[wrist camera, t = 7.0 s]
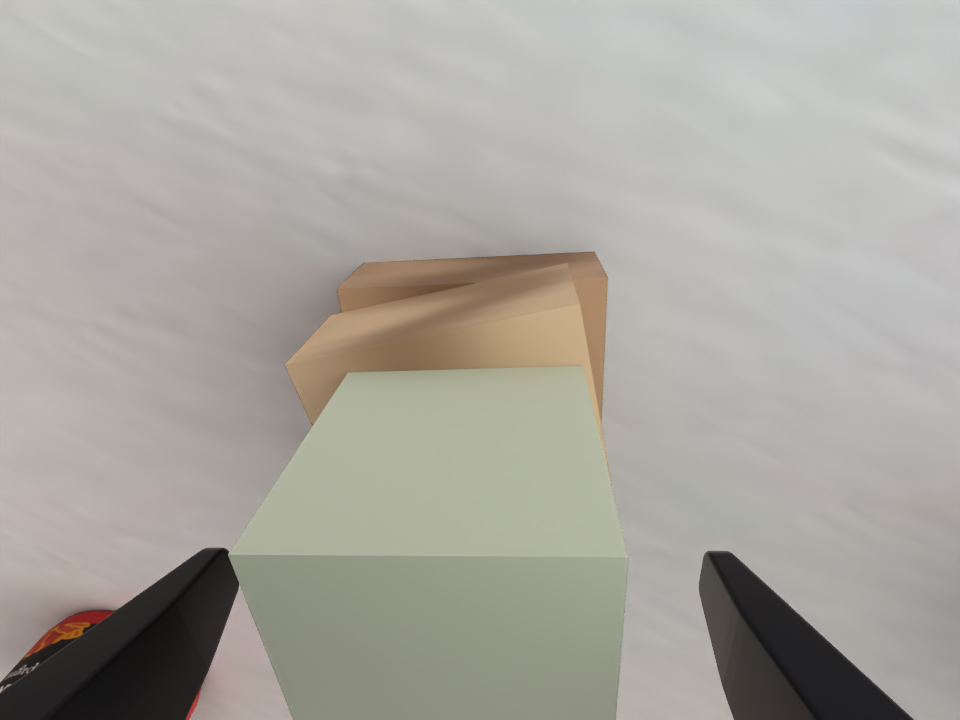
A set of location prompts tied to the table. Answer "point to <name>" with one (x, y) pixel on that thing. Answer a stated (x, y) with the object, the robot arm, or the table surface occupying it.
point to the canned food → (60, 645)
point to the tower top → (450, 335)
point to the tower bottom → (436, 275)
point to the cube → (443, 552)
